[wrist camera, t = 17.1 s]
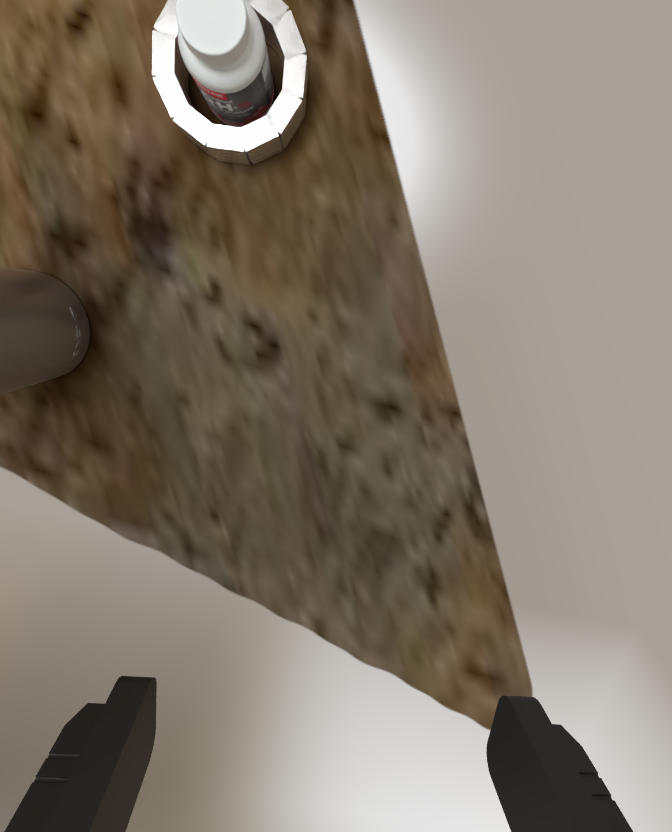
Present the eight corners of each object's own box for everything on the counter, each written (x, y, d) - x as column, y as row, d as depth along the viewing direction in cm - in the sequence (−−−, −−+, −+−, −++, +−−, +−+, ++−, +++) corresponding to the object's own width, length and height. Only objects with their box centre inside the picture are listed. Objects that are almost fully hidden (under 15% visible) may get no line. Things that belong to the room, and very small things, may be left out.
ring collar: (167, 153, 35) (151, 138, 32) (170, -6, 32) (153, -41, 29) (299, 172, 36) (297, 159, 32) (313, 18, 33) (312, -14, 30)
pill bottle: (211, 133, 35) (172, 74, 26) (198, 53, 34) (151, -42, 24) (280, 125, 35) (266, 62, 26) (269, 45, 34) (250, -53, 24)
